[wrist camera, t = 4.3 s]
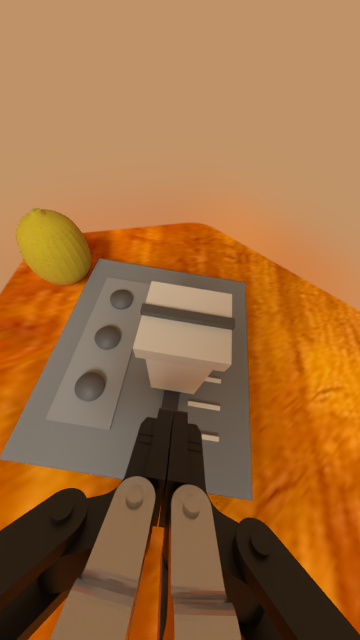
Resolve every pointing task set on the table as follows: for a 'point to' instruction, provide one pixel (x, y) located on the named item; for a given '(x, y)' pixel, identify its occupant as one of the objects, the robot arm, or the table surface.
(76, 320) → the console
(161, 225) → the table surface
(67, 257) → the lemon
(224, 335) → the fader knob
